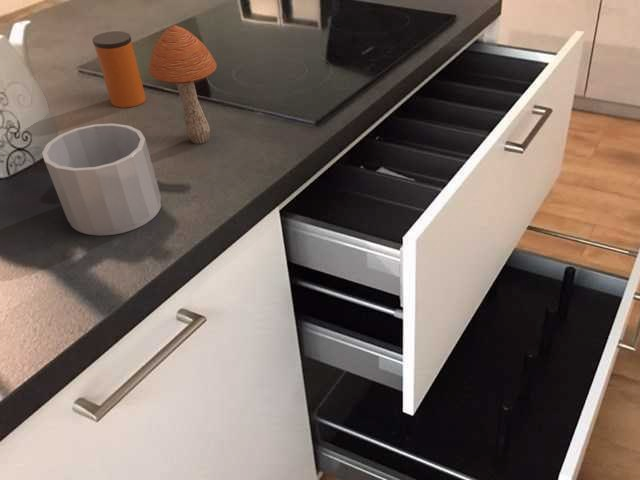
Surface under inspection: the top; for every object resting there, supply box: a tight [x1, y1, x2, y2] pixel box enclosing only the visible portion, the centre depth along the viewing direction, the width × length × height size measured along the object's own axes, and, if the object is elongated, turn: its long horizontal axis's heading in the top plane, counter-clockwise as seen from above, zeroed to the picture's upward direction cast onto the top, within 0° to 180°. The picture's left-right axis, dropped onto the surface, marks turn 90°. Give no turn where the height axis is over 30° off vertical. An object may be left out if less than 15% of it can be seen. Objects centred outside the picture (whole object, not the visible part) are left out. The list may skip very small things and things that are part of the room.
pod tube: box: [91, 30, 147, 109], centre depth 92 cm, size 5×5×9 cm
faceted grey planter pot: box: [41, 122, 162, 237], centre depth 71 cm, size 10×10×8 cm
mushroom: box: [148, 24, 218, 144], centre depth 81 cm, size 8×8×15 cm
